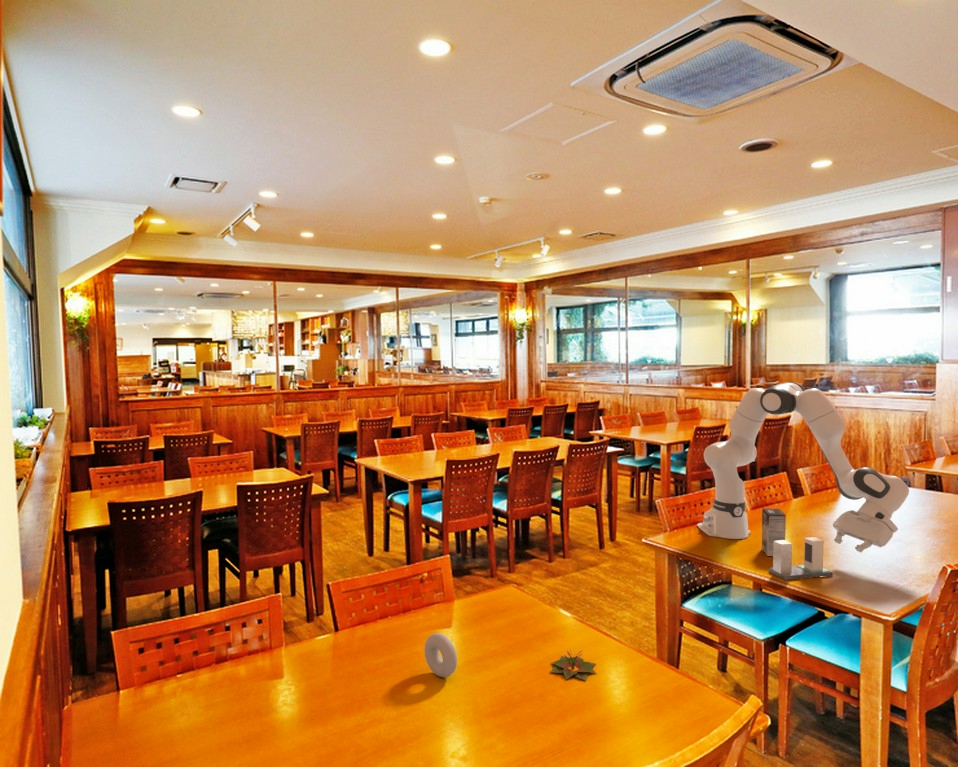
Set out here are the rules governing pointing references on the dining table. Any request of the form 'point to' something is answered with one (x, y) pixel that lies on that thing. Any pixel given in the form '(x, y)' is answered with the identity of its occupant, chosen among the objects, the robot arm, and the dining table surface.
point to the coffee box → (772, 528)
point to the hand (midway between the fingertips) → (846, 546)
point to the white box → (813, 553)
